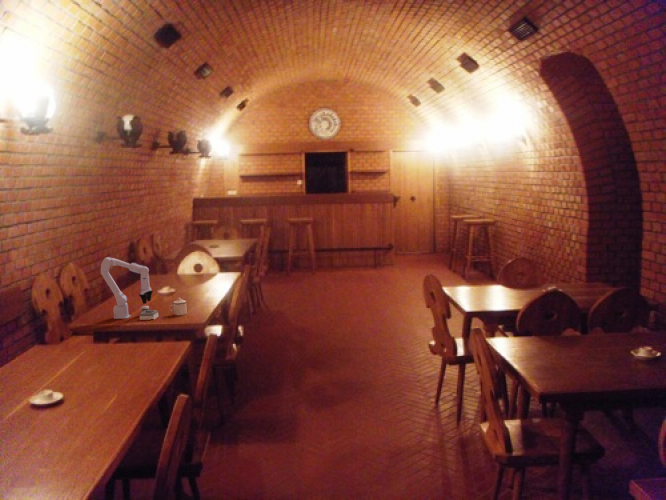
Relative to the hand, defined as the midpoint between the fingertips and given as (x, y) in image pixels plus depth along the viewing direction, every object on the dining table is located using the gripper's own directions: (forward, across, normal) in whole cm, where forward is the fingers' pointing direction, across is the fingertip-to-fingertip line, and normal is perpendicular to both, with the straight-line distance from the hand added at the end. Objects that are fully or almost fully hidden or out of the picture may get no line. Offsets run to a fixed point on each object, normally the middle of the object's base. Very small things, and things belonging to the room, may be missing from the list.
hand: (146, 302), depth 420 cm
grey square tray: (+9, -8, -4) cm, 13 cm away
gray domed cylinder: (+10, +1, +2) cm, 10 cm away
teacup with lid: (+10, +1, -22) cm, 24 cm away
